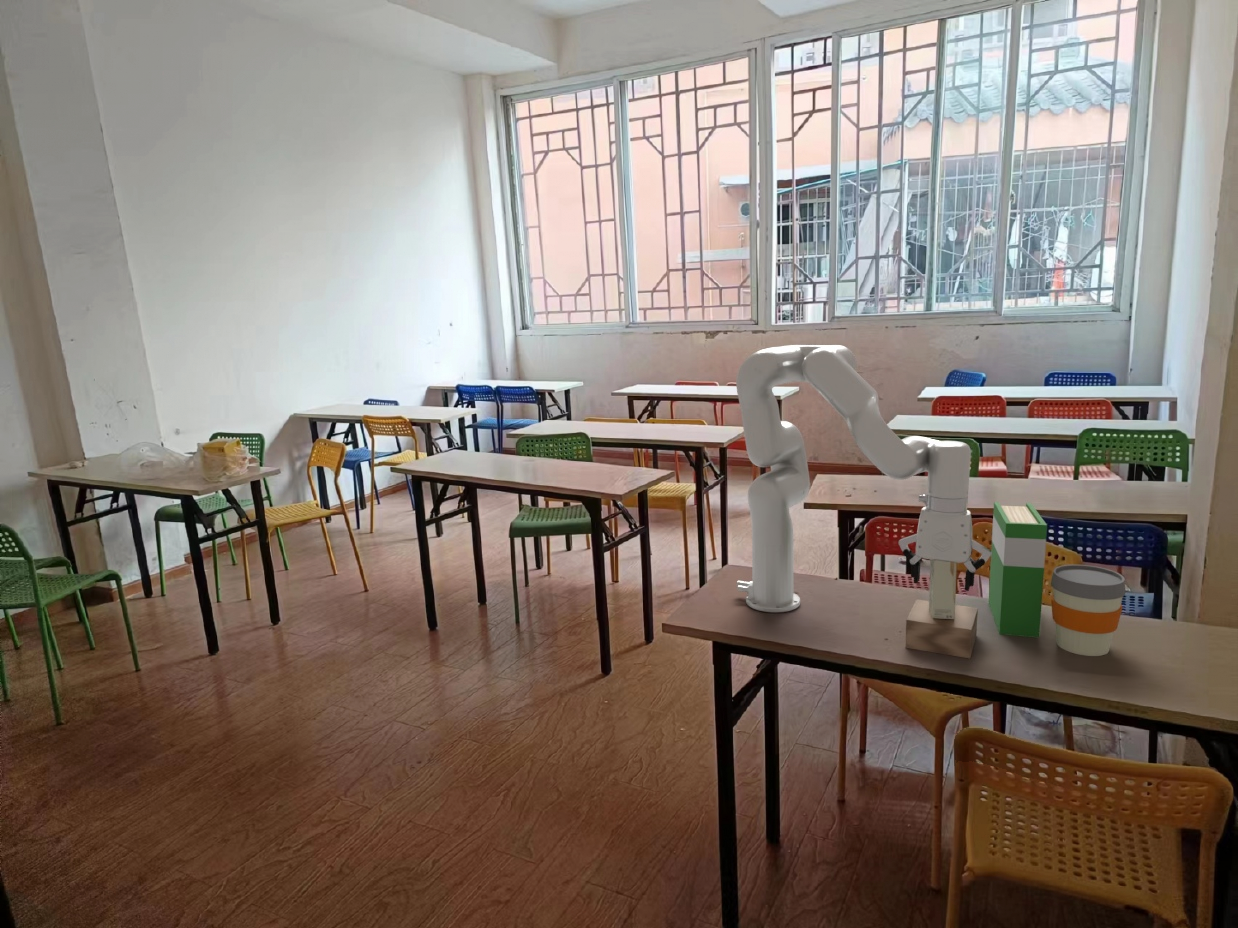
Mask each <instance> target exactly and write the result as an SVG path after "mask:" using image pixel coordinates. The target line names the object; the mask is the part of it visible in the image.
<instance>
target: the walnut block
mask: <svg viewBox="0 0 1238 928" xmlns="http://www.w3.org/2000/svg"><path fill="white" fill-rule="evenodd" d="M978 611H979V608H978V607H974V606H973V607H972V606H966V605H959V604H955V619H940V618H932V616H931V613H930V610H929V600H923V599H918V598H917V599H915V601H914V603H913V606H912V608H911V609H910V612H909V614H908V616H907V617H906V621H905V648H907V649H912V650H918V651H925V652H929V653H936V654H941V655H946V656H947V655H948V656H953V657H958V658H964V659H969V660H970V659H971V656H972V652H973V649H974V645H975V642H976V638H977V635H978V633H977V631H978V629H977V628H978Z"/></svg>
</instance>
